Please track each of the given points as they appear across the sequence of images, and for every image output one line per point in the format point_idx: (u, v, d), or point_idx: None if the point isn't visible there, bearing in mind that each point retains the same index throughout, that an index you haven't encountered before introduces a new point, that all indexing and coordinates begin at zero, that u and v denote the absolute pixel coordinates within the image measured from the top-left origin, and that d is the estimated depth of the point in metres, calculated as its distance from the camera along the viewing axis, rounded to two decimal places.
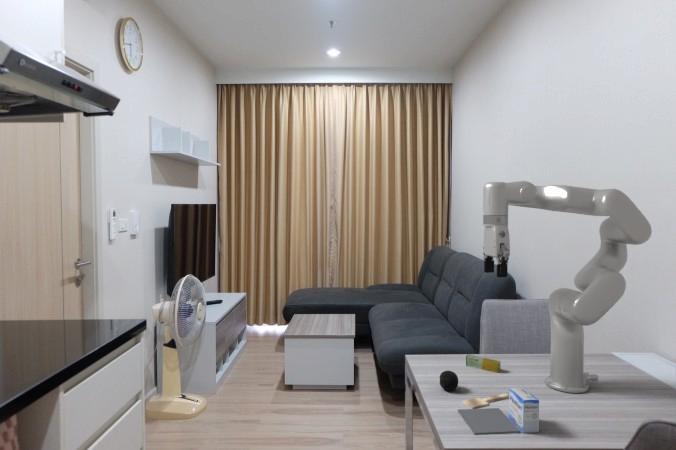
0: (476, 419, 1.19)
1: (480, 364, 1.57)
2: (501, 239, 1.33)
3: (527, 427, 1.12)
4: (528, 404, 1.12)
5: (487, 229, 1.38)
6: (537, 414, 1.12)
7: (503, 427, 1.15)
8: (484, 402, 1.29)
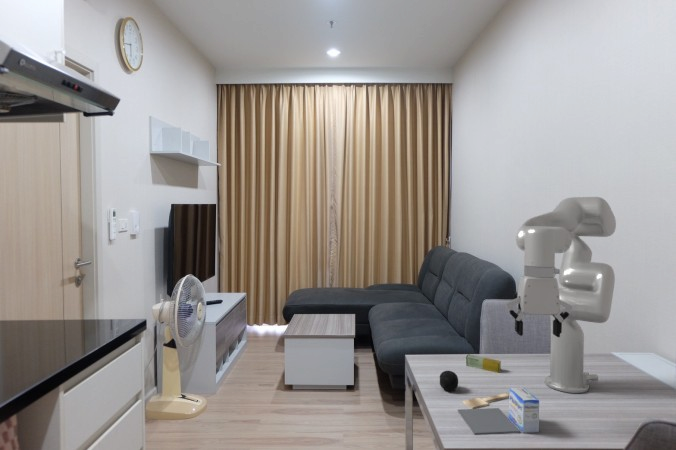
0: (476, 419, 1.19)
1: (480, 364, 1.57)
2: None
3: (527, 427, 1.12)
4: (529, 404, 1.12)
5: (541, 283, 1.16)
6: (537, 414, 1.12)
7: (503, 427, 1.15)
8: (484, 402, 1.29)
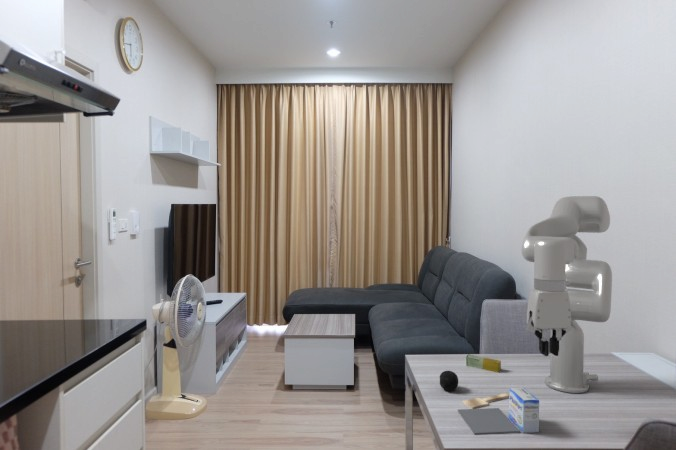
0: (476, 419, 1.19)
1: (480, 364, 1.57)
2: None
3: (527, 427, 1.12)
4: (529, 404, 1.12)
5: (554, 297, 1.13)
6: (537, 414, 1.12)
7: (503, 427, 1.15)
8: (484, 402, 1.29)
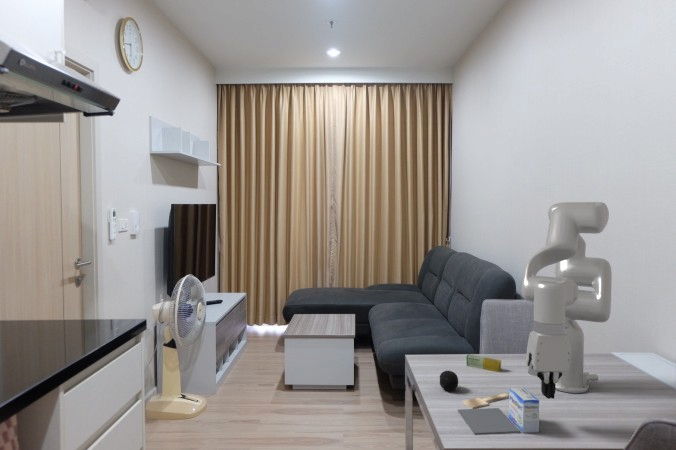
0: (476, 419, 1.19)
1: (481, 364, 1.57)
2: None
3: (527, 427, 1.12)
4: (528, 404, 1.12)
5: (553, 340, 1.13)
6: (537, 414, 1.12)
7: (503, 427, 1.15)
8: (484, 402, 1.29)
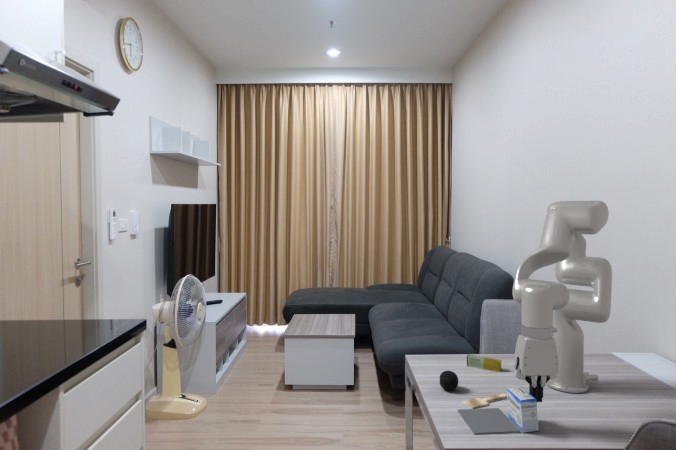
0: (476, 419, 1.19)
1: (481, 364, 1.57)
2: None
3: (526, 426, 1.12)
4: (526, 403, 1.12)
5: (541, 344, 1.13)
6: (535, 413, 1.12)
7: (503, 427, 1.15)
8: (484, 402, 1.29)
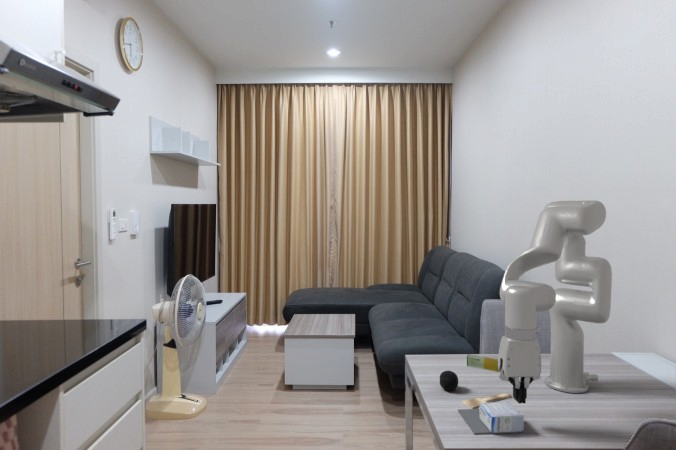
0: (476, 419, 1.19)
1: (481, 364, 1.57)
2: None
3: (518, 427, 1.12)
4: (495, 427, 1.11)
5: (524, 345, 1.13)
6: (506, 418, 1.12)
7: None
8: (484, 402, 1.29)
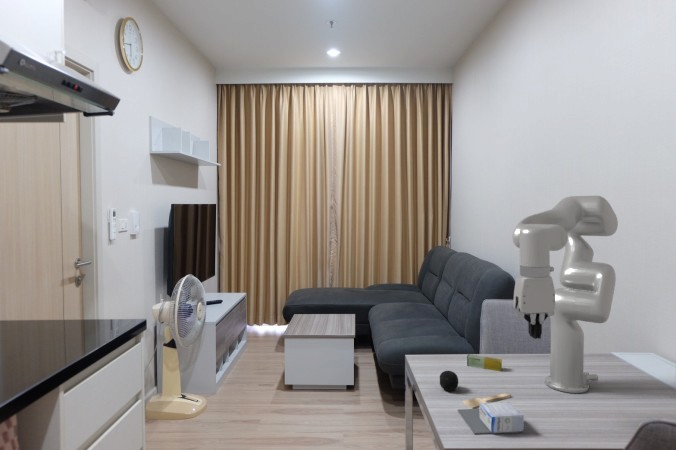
0: (476, 419, 1.19)
1: (482, 363, 1.57)
2: None
3: (518, 427, 1.12)
4: (495, 427, 1.11)
5: (538, 283, 1.17)
6: (506, 418, 1.12)
7: None
8: (484, 402, 1.29)
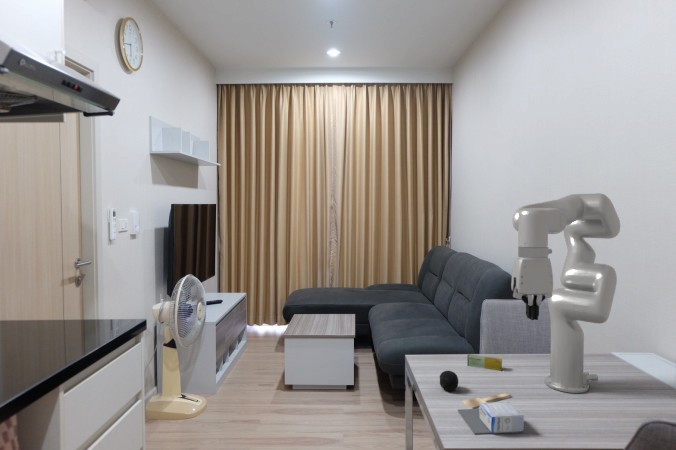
0: (476, 419, 1.19)
1: (482, 363, 1.58)
2: None
3: (518, 427, 1.12)
4: (495, 427, 1.11)
5: (536, 263, 1.18)
6: (506, 418, 1.12)
7: None
8: (484, 402, 1.29)
